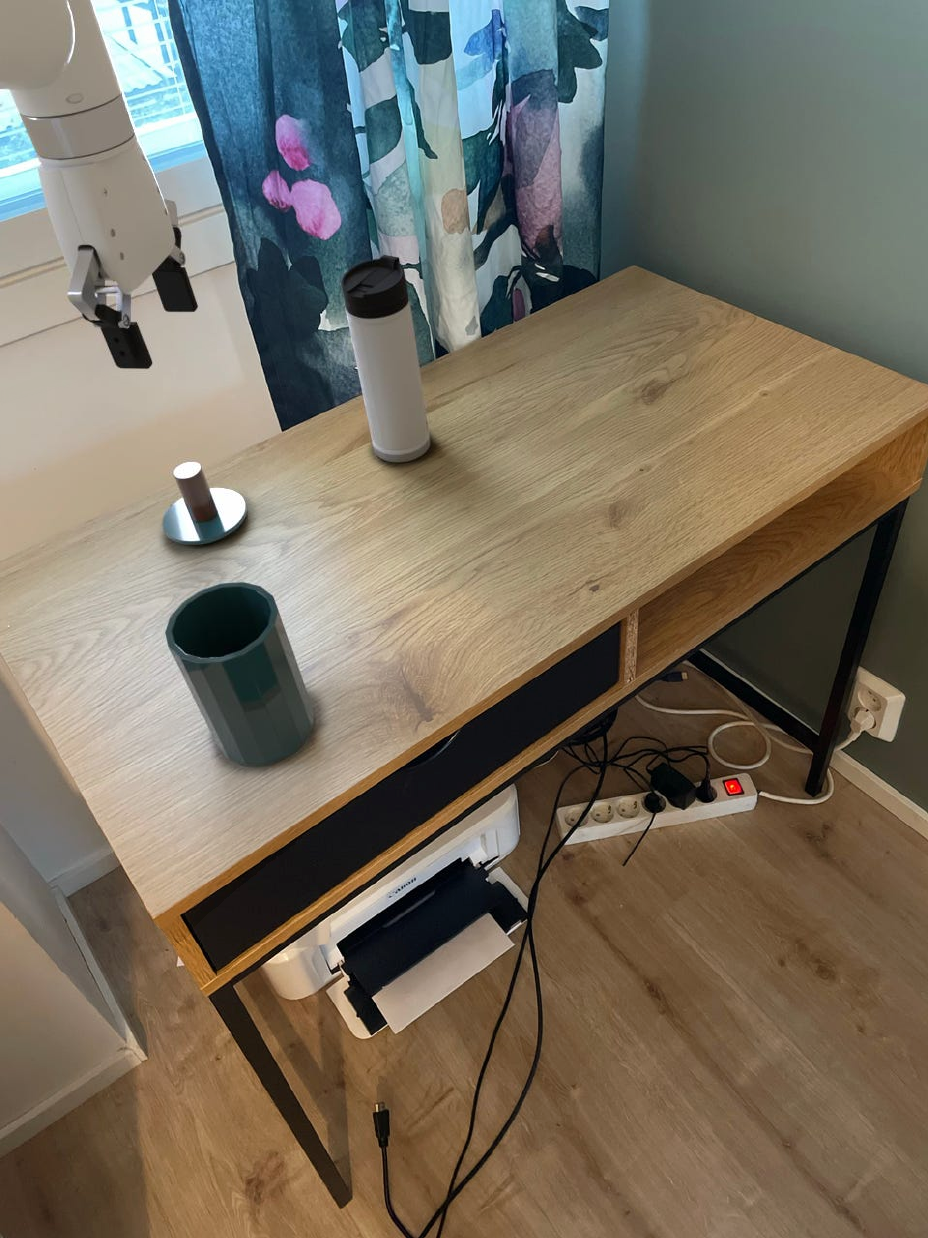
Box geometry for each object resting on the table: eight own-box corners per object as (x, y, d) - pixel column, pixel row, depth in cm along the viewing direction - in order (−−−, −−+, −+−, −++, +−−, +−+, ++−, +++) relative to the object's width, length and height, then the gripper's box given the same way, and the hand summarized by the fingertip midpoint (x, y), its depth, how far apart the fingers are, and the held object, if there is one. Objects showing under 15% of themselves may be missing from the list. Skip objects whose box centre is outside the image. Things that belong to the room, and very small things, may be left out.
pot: (227, 781, 70) (175, 678, 61) (209, 708, 75) (158, 604, 66) (326, 744, 71) (288, 638, 62) (300, 675, 76) (263, 569, 68)
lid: (172, 559, 89) (149, 507, 84) (160, 511, 95) (137, 460, 90) (256, 532, 91) (238, 480, 86) (239, 486, 96) (221, 435, 92)
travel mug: (443, 436, 99) (419, 259, 85) (409, 469, 96) (378, 290, 81) (397, 423, 102) (366, 249, 88) (363, 455, 98) (325, 278, 84)
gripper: (91, 92, 74) (162, 291, 86) (-27, 174, 62) (74, 390, 74) (174, 88, 72) (234, 291, 84) (69, 170, 60) (156, 392, 73)
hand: (159, 337), depth 79 cm, fingers open, 9 cm apart
